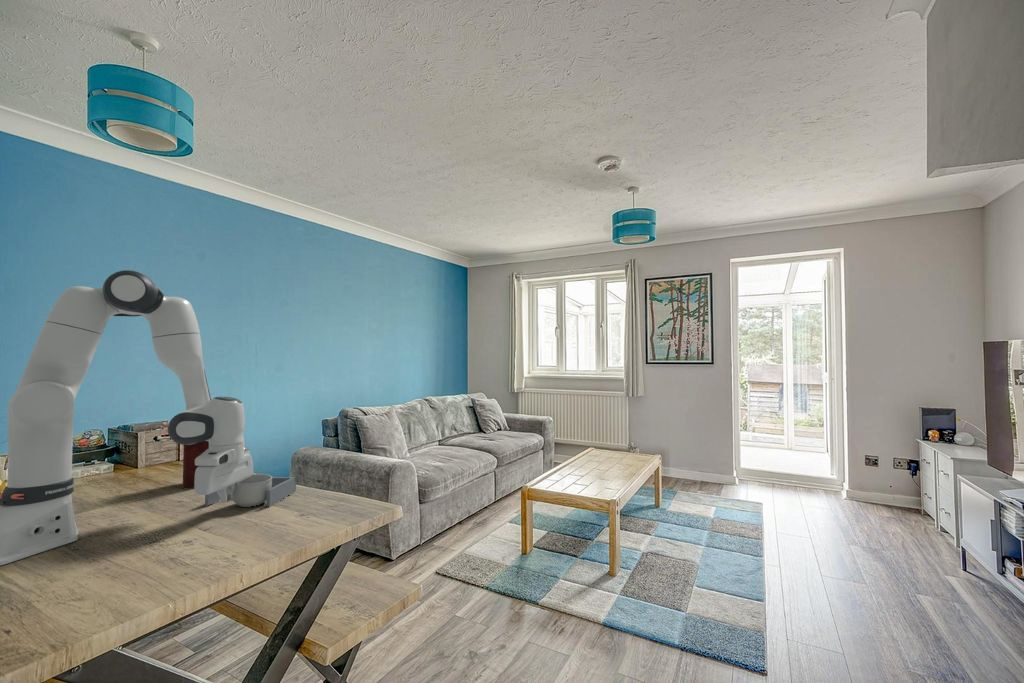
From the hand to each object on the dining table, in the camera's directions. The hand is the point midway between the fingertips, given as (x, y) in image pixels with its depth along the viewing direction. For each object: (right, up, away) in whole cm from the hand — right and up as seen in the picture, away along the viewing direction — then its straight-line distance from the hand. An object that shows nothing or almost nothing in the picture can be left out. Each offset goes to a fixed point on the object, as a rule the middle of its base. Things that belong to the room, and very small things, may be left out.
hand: (225, 501), depth 132 cm
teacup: (+2, -4, +7) cm, 8 cm away
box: (0, -4, +13) cm, 13 cm away
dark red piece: (-30, -5, +32) cm, 44 cm away
